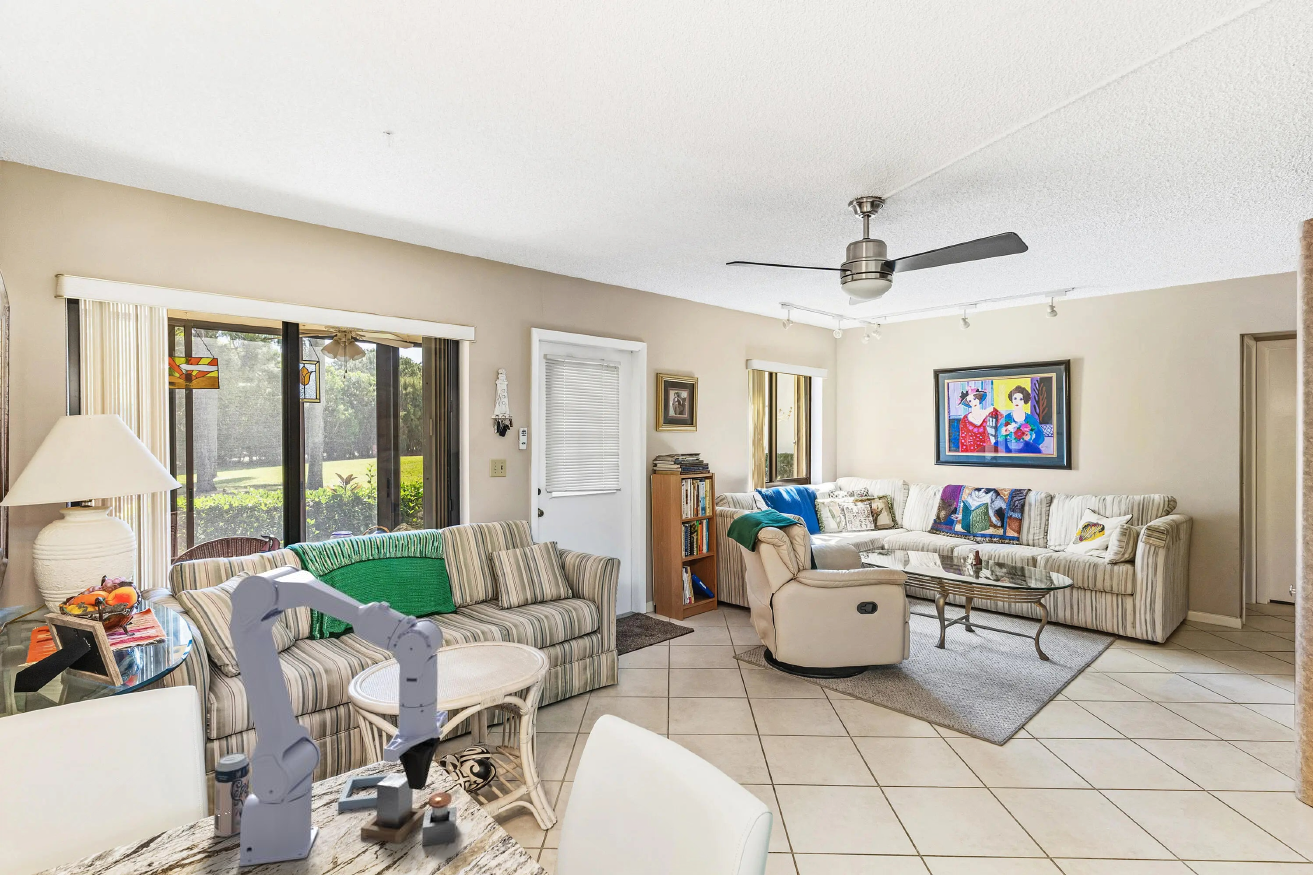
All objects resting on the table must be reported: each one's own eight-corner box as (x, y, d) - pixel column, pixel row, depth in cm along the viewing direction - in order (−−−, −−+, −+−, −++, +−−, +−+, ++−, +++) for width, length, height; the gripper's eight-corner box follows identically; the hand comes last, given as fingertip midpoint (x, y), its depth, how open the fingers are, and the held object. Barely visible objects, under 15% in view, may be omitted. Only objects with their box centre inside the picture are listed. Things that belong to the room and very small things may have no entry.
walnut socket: (400, 843, 107) (401, 834, 107) (360, 836, 109) (360, 827, 109) (426, 818, 114) (426, 809, 114) (388, 812, 116) (388, 803, 116)
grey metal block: (397, 836, 109) (398, 787, 109) (376, 832, 110) (377, 784, 110) (412, 822, 113) (412, 775, 113) (391, 819, 114) (391, 772, 114)
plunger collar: (422, 846, 106) (422, 827, 107) (425, 828, 111) (425, 810, 111) (454, 842, 108) (455, 823, 108) (456, 824, 113) (456, 807, 113)
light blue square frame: (338, 810, 117) (338, 801, 117) (348, 785, 125) (348, 777, 125) (390, 804, 119) (390, 795, 119) (397, 780, 127) (397, 772, 127)
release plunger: (427, 826, 107) (427, 805, 107) (429, 814, 111) (429, 793, 111) (450, 824, 108) (450, 802, 108) (451, 812, 112) (452, 791, 112)
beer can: (242, 837, 108) (243, 763, 108) (208, 841, 107) (210, 766, 107) (252, 821, 113) (253, 750, 113) (221, 824, 112) (222, 752, 112)
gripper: (414, 721, 97) (412, 815, 97) (464, 686, 111) (463, 768, 111) (371, 716, 99) (370, 808, 99) (426, 682, 113) (425, 763, 113)
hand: (417, 787), depth 105 cm, fingers closed
